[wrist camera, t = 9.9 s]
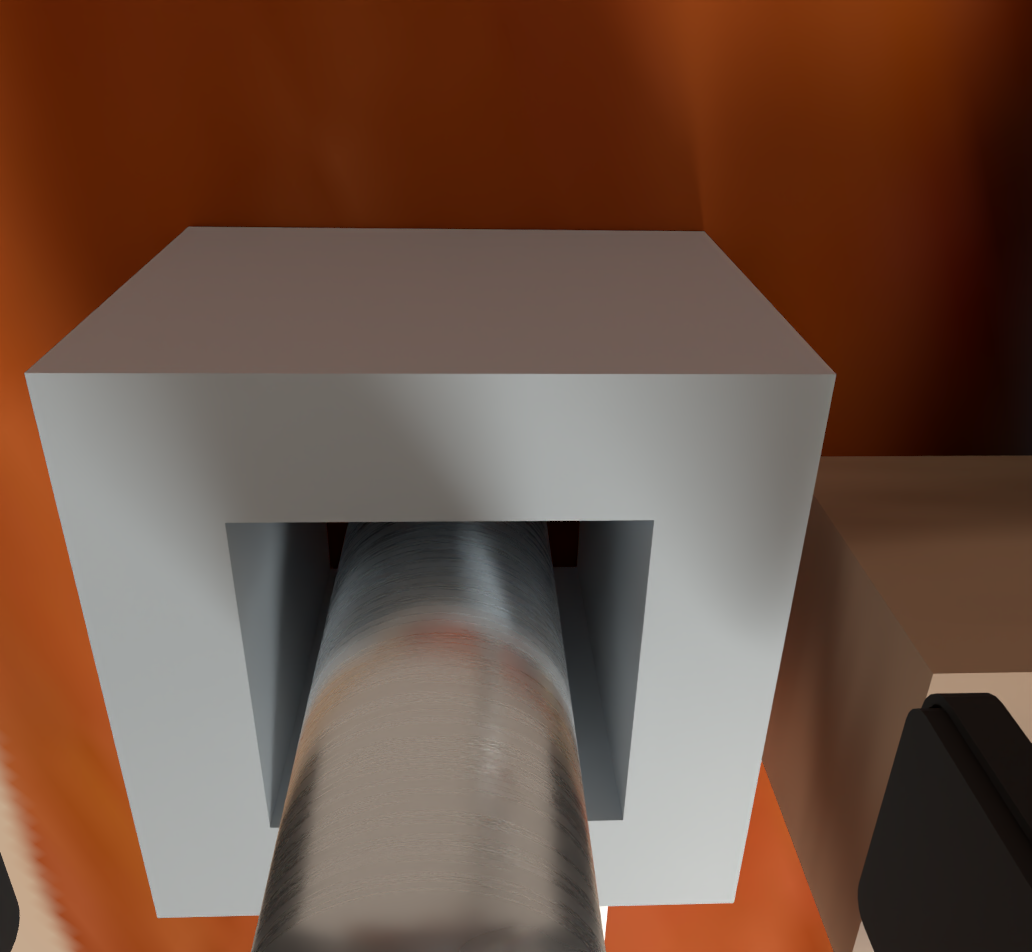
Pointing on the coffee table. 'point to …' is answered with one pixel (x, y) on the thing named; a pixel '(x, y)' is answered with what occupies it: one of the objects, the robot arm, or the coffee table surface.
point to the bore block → (434, 511)
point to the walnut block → (892, 642)
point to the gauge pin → (437, 757)
